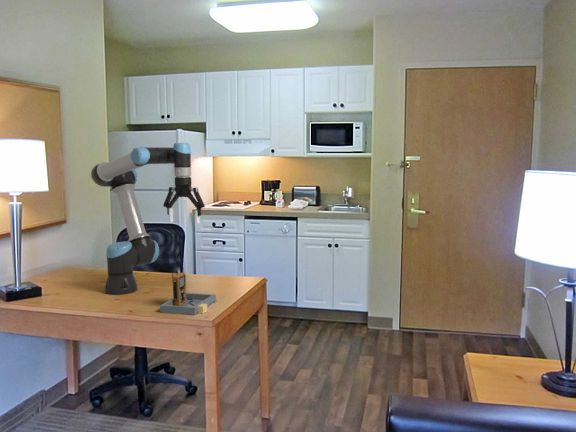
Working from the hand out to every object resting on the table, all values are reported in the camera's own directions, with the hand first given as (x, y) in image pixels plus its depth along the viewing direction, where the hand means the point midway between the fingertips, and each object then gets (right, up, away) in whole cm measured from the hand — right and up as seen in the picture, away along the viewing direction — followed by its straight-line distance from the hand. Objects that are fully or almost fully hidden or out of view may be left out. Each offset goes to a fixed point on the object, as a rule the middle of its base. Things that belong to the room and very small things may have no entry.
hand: (184, 222), depth 237 cm
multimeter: (+5, -35, -15) cm, 39 cm away
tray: (+7, -36, -17) cm, 40 cm away
